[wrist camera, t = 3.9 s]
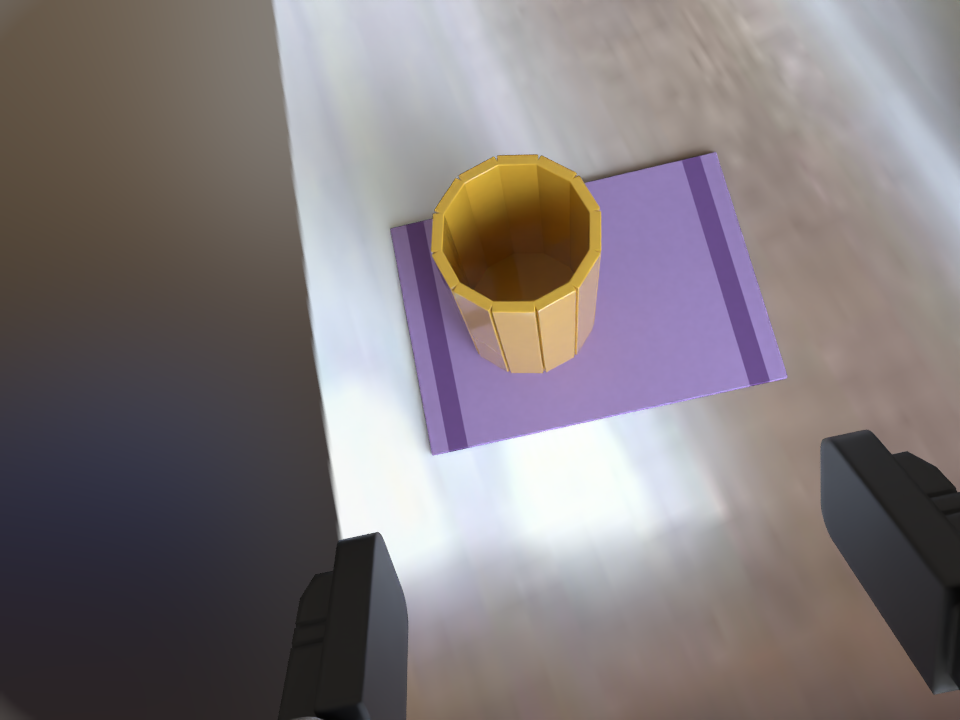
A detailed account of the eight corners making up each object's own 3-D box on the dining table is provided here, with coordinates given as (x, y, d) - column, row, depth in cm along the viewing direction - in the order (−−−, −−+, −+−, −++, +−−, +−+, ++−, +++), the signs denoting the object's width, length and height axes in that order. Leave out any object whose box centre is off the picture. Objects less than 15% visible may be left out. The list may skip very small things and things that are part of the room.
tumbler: (507, 228, 40) (488, 128, 31) (618, 287, 39) (633, 200, 29) (439, 332, 39) (399, 261, 30) (551, 397, 38) (544, 343, 28)
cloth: (715, 154, 40) (716, 151, 40) (786, 378, 37) (787, 377, 37) (391, 230, 41) (390, 228, 41) (433, 455, 38) (432, 454, 37)
